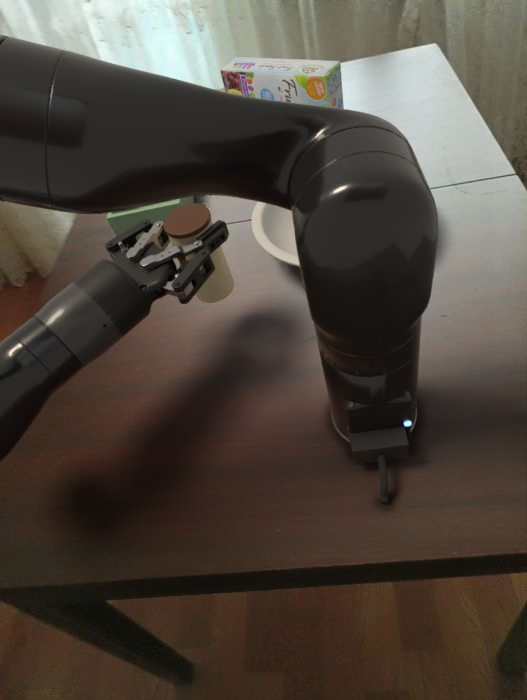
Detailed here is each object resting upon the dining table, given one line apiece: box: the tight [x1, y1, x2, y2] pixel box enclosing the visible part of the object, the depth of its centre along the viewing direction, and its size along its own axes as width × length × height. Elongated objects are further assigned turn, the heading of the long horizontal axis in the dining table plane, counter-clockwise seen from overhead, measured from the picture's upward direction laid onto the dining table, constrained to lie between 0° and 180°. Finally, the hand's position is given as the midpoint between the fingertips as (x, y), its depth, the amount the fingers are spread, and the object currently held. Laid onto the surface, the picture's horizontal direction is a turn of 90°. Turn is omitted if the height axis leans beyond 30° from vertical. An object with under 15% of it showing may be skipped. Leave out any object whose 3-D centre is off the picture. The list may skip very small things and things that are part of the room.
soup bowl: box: [251, 201, 300, 268], centre depth 73 cm, size 24×24×7 cm
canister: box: [163, 203, 235, 304], centre depth 59 cm, size 5×5×11 cm
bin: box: [106, 196, 195, 241], centre depth 87 cm, size 13×13×6 cm
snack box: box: [219, 56, 345, 109], centre depth 88 cm, size 21×6×15 cm, turn 58°
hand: (207, 219), depth 57 cm, fingers closed on canister, 5 cm apart
